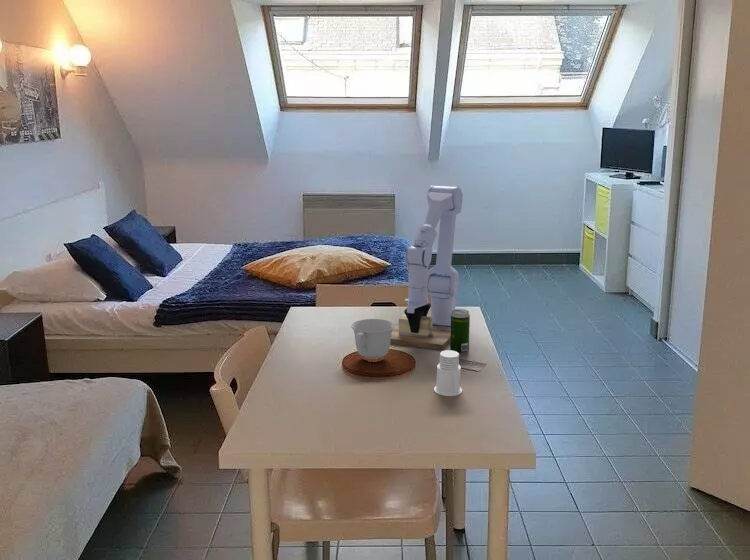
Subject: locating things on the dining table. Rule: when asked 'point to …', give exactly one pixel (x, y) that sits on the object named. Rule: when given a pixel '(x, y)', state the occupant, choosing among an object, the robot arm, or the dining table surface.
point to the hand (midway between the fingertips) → (417, 329)
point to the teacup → (372, 337)
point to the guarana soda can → (460, 331)
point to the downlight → (448, 374)
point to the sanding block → (424, 328)
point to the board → (422, 339)
